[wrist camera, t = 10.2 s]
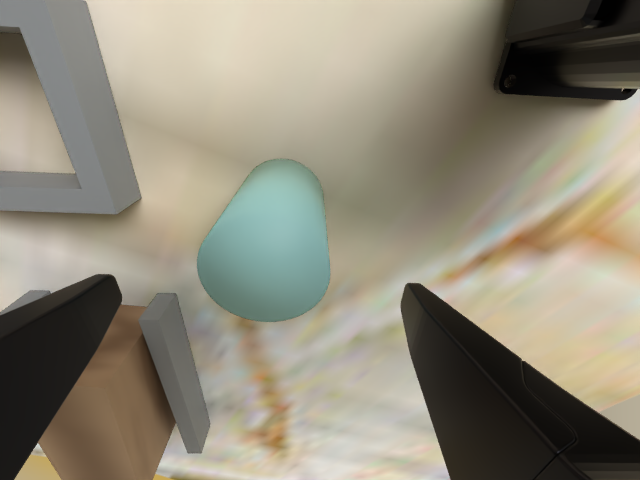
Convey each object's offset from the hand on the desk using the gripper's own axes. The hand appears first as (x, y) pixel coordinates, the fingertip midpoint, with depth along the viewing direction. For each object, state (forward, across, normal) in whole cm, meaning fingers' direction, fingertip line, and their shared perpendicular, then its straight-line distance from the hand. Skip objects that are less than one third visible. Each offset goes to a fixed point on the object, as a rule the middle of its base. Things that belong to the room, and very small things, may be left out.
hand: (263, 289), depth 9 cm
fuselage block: (+8, +12, +15) cm, 21 cm away
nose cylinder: (+8, 0, 0) cm, 8 cm away
